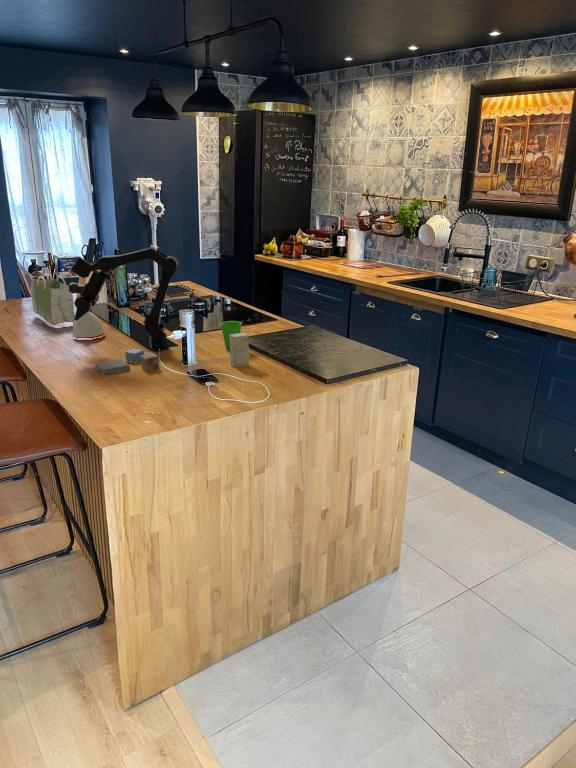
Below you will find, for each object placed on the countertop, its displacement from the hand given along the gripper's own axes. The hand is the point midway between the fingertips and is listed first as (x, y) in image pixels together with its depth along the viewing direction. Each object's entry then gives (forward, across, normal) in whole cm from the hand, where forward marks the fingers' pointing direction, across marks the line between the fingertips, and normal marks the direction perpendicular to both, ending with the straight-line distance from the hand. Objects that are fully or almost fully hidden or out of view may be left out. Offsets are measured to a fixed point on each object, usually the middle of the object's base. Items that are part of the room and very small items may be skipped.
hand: (78, 317), depth 238 cm
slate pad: (+4, +24, +22) cm, 33 cm away
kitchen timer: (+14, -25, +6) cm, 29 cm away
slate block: (0, +15, +28) cm, 31 cm away
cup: (-21, +6, +60) cm, 64 cm away
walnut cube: (-4, +26, +34) cm, 42 cm away
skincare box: (-22, +27, +62) cm, 72 cm away
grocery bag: (+26, -58, -13) cm, 65 cm away
